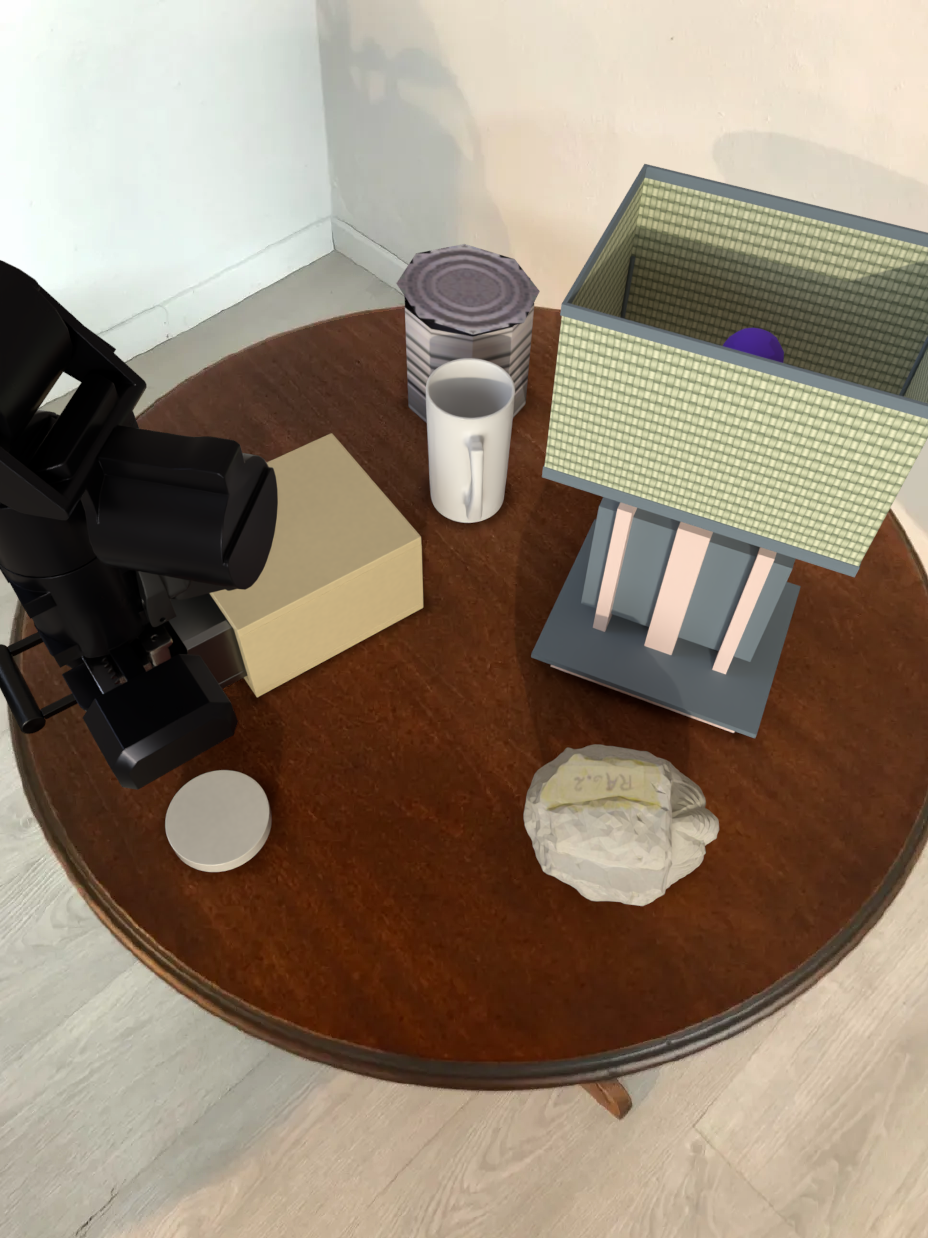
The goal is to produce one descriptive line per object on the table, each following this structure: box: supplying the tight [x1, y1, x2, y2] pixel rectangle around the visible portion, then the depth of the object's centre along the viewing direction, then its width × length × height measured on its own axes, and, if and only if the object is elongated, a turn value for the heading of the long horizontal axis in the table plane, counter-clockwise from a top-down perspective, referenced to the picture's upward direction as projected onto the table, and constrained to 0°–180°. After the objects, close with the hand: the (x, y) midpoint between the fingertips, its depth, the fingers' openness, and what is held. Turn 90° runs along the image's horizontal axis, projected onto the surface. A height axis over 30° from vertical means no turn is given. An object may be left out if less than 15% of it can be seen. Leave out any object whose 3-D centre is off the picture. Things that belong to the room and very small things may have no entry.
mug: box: [426, 358, 515, 524], centre depth 80 cm, size 10×7×12 cm, turn 5°
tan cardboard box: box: [210, 432, 424, 698], centre depth 76 cm, size 15×13×9 cm
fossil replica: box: [523, 743, 720, 907], centre depth 65 cm, size 12×8×10 cm
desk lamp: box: [530, 163, 928, 739], centre depth 65 cm, size 18×14×33 cm
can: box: [395, 243, 540, 424], centre depth 89 cm, size 11×11×12 cm
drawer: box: [0, 593, 248, 735], centre depth 72 cm, size 18×11×7 cm, turn 125°
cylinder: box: [164, 769, 273, 873], centre depth 68 cm, size 7×7×2 cm
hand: (144, 704), depth 59 cm, fingers closed
